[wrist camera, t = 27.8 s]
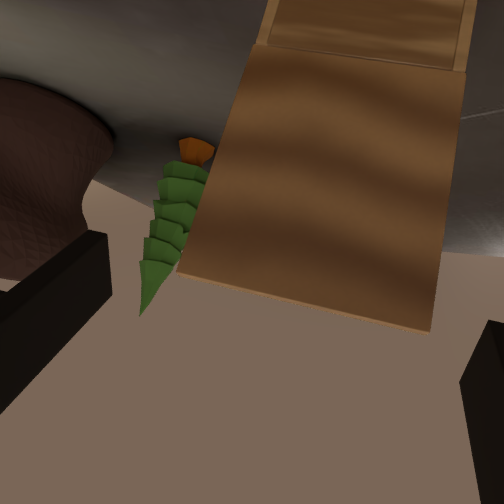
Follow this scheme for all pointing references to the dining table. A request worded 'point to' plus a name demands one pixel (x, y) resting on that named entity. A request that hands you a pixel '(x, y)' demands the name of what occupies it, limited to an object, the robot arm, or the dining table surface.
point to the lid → (331, 186)
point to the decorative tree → (173, 215)
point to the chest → (374, 30)
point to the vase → (43, 173)
